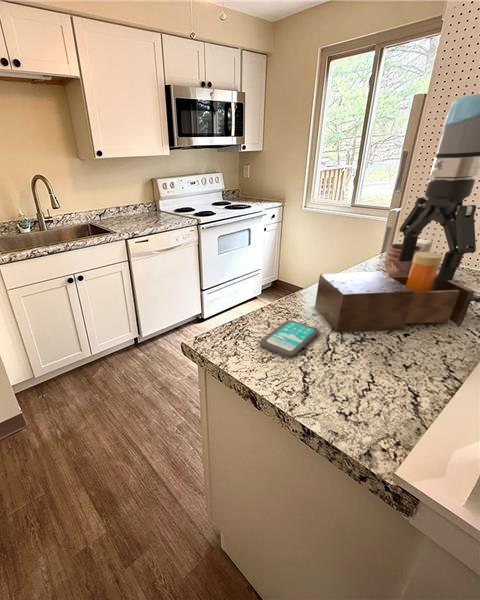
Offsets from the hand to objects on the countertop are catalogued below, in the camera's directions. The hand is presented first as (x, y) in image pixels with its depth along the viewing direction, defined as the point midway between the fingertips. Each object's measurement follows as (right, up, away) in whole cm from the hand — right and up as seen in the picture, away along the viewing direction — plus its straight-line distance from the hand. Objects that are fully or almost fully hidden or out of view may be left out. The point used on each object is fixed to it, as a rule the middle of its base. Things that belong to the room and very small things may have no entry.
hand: (422, 269), depth 76 cm
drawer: (+4, -11, +5) cm, 13 cm away
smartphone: (-32, -17, +1) cm, 37 cm away
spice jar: (+1, -10, +5) cm, 11 cm away
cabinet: (-12, -12, +7) cm, 19 cm away
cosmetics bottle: (+26, +3, +33) cm, 42 cm away
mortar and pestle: (+11, -3, +22) cm, 25 cm away
